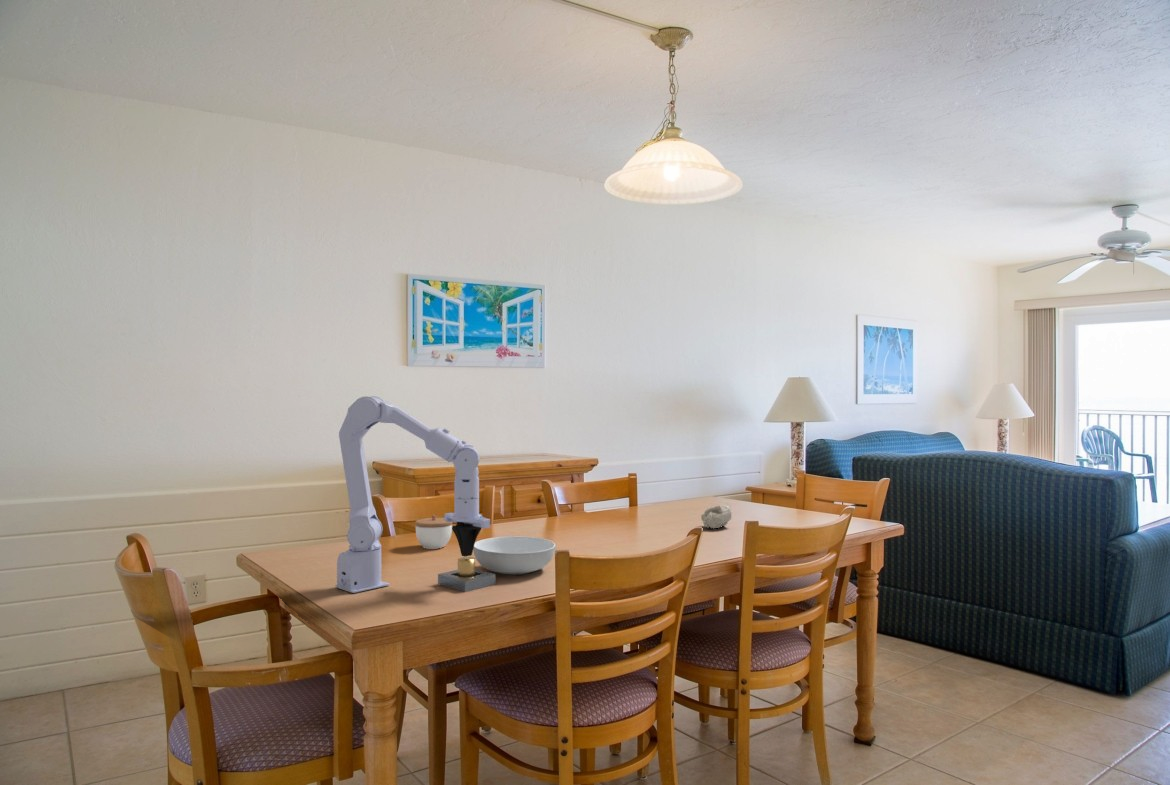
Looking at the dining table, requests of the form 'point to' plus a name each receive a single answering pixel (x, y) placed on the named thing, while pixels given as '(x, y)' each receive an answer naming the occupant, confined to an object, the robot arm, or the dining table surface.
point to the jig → (466, 580)
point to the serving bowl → (514, 554)
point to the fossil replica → (717, 516)
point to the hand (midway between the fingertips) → (466, 555)
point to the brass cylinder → (466, 567)
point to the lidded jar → (433, 532)
